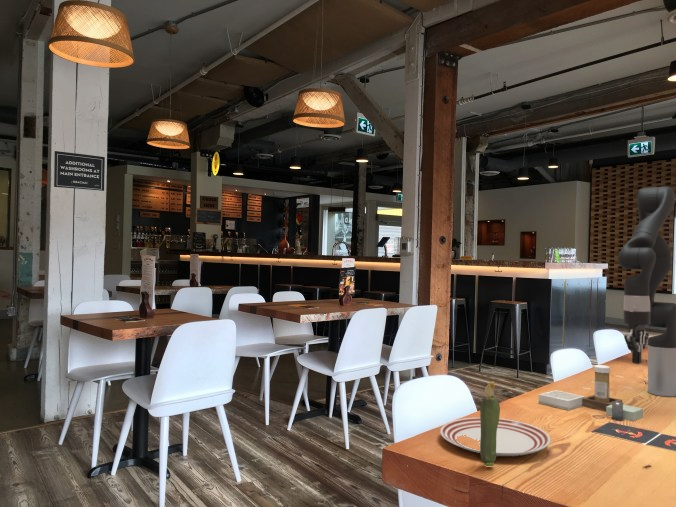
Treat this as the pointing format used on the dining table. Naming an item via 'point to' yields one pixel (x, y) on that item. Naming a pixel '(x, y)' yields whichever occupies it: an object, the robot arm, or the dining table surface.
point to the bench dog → (617, 410)
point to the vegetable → (489, 425)
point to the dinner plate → (499, 436)
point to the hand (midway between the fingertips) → (636, 363)
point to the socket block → (597, 403)
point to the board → (627, 412)
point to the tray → (561, 400)
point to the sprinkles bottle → (602, 383)
